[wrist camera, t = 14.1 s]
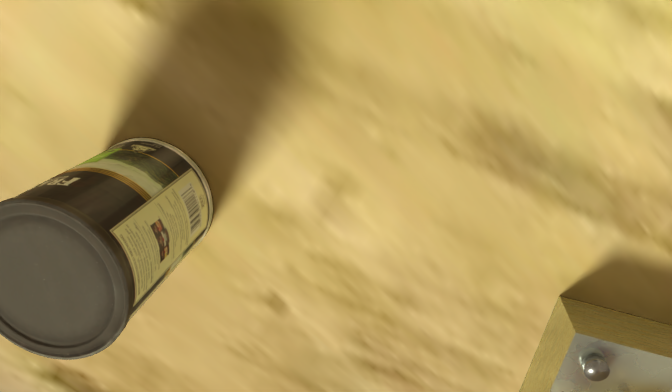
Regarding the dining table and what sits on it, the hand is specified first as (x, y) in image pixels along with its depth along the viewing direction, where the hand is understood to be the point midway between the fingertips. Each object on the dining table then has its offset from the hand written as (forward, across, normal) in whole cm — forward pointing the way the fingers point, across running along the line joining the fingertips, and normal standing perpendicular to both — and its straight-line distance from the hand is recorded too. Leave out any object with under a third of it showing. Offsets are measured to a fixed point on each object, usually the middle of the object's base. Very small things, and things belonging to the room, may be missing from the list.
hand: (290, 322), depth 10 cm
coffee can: (+32, -16, -14) cm, 38 cm away
